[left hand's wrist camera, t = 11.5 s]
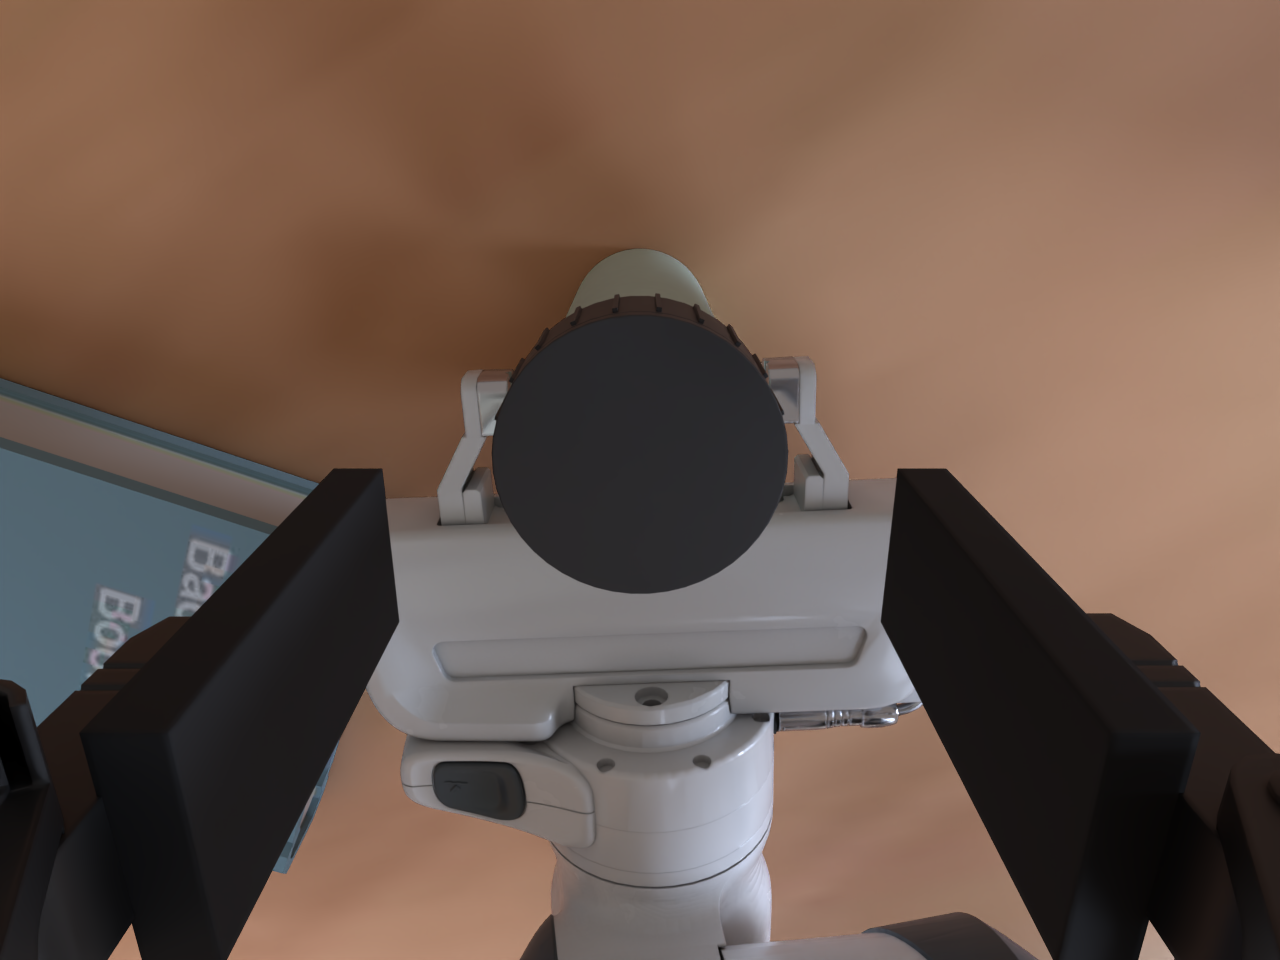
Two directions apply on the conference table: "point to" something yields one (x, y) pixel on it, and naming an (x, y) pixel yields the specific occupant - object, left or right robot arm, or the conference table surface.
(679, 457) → the lid
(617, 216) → the conference table surface
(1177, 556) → the conference table surface
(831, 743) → the conference table surface
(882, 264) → the conference table surface
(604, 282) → the jar
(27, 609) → the book
